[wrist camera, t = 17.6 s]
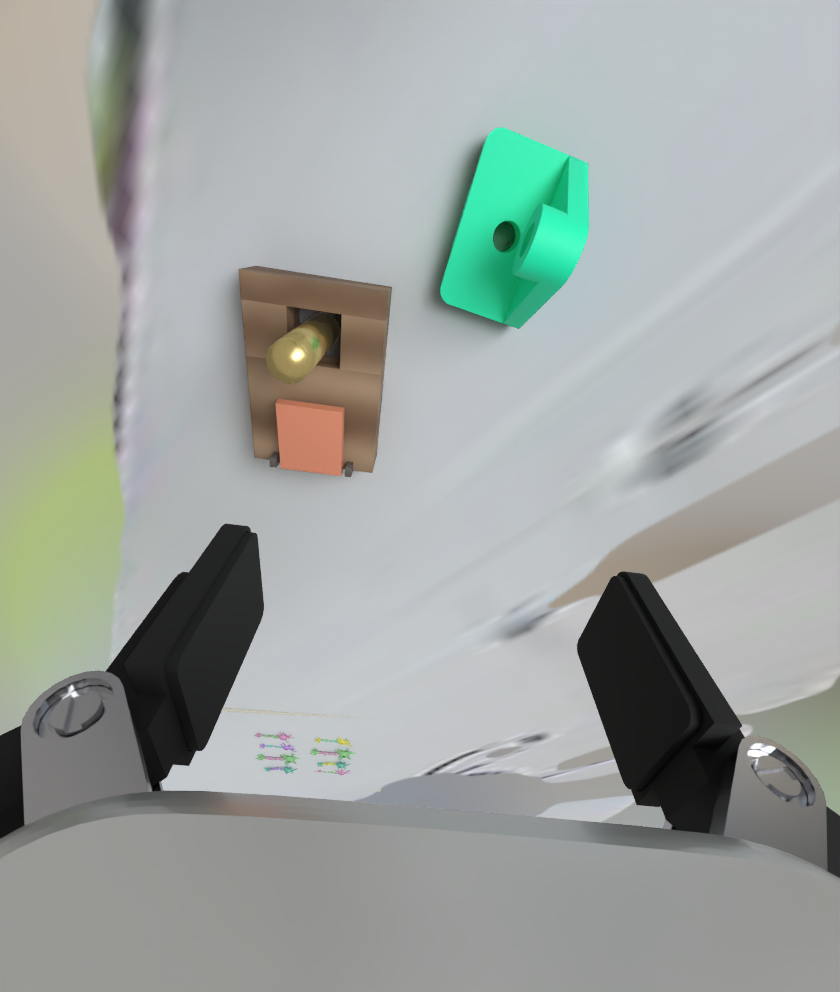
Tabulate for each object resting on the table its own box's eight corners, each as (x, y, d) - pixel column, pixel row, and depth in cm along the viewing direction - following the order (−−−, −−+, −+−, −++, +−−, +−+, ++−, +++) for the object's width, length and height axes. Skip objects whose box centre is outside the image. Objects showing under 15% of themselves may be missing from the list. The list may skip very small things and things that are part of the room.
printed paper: (387, 717, 75) (387, 726, 74) (381, 790, 91) (380, 797, 90) (220, 705, 74) (216, 714, 73) (244, 781, 90) (241, 788, 89)
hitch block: (256, 265, 36) (231, 270, 32) (391, 287, 37) (386, 294, 32) (267, 440, 45) (249, 464, 41) (376, 455, 46) (370, 479, 42)
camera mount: (486, 130, 31) (508, 90, 23) (577, 168, 33) (631, 144, 24) (436, 296, 38) (438, 314, 29) (513, 323, 39) (538, 349, 30)
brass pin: (308, 310, 38) (264, 337, 28) (340, 315, 38) (308, 343, 28) (308, 343, 40) (267, 380, 30) (339, 348, 40) (309, 386, 30)
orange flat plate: (278, 398, 38) (275, 403, 37) (344, 407, 38) (342, 412, 37) (283, 462, 42) (280, 468, 41) (342, 470, 42) (340, 475, 42)
